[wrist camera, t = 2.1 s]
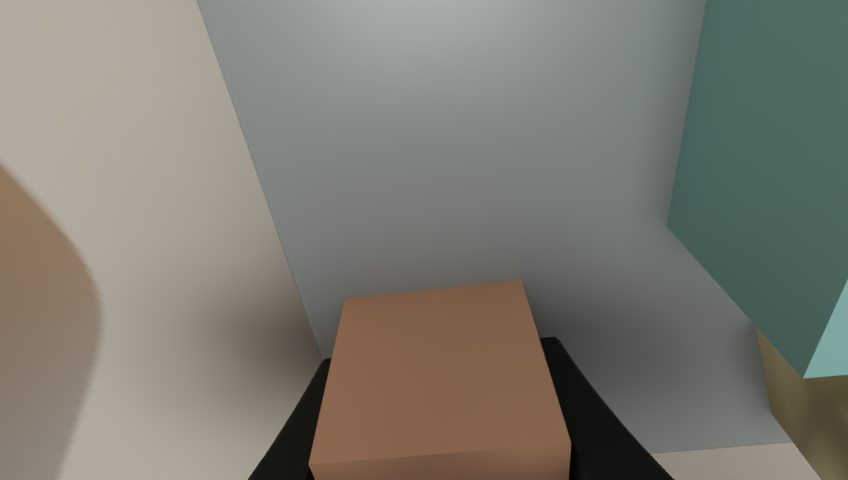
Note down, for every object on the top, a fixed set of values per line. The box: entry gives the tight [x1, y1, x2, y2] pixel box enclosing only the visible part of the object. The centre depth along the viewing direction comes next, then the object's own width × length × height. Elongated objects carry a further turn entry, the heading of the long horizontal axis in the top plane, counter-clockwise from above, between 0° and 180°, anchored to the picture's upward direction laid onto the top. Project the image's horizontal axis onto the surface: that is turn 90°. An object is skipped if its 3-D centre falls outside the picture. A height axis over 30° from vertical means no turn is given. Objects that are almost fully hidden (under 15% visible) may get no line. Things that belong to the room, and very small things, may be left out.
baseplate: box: [197, 0, 793, 454], centre depth 9 cm, size 20×16×1 cm
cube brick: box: [308, 280, 571, 480], centre depth 10 cm, size 4×4×4 cm
